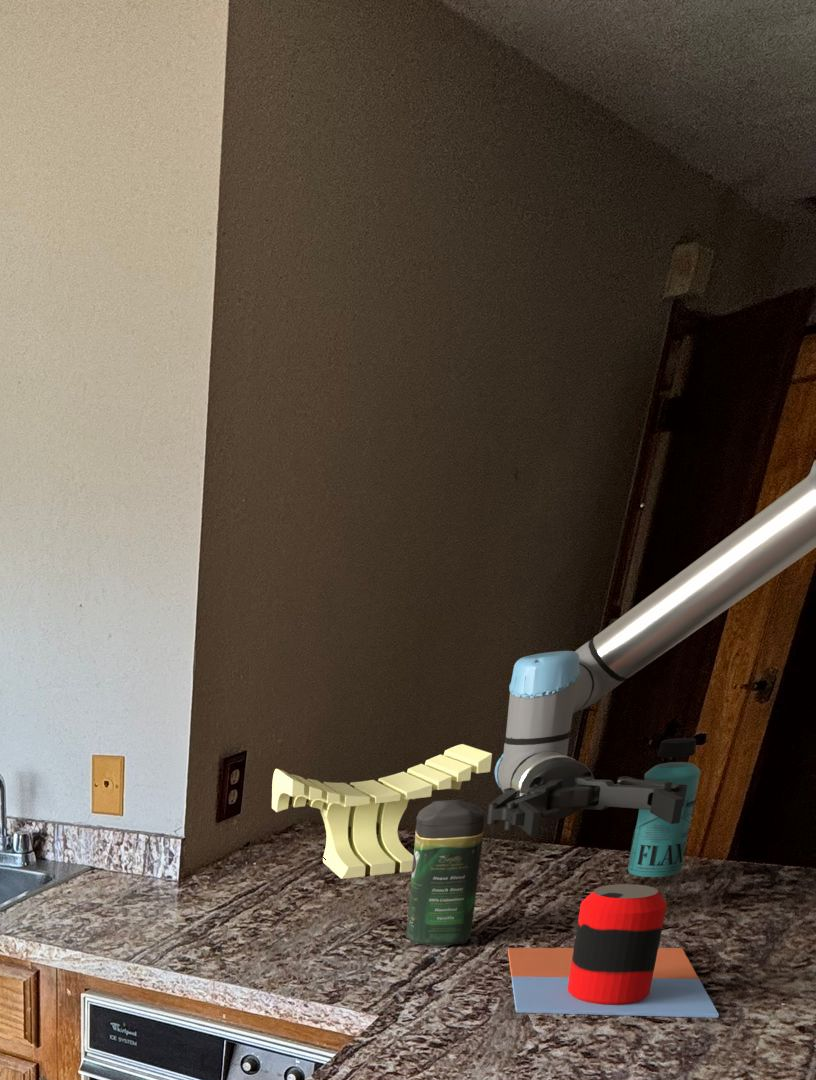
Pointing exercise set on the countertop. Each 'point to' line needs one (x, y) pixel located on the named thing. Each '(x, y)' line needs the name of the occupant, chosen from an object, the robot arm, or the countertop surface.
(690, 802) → the teal pump bottle
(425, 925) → the coffee jar
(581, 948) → the soda can
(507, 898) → the countertop surface
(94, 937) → the countertop surface
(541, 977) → the sorting mat
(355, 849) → the slatted curved stool
